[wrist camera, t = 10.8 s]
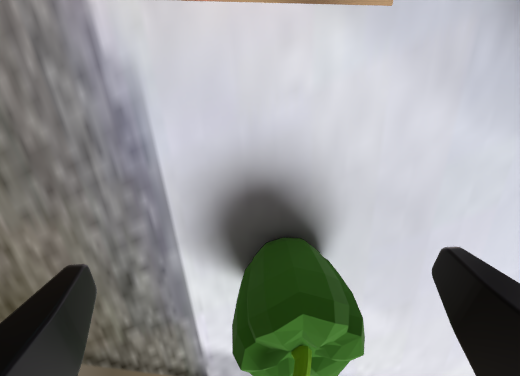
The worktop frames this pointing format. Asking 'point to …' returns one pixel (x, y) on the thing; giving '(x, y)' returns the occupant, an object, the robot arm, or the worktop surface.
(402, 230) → the worktop surface
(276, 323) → the bell pepper
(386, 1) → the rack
